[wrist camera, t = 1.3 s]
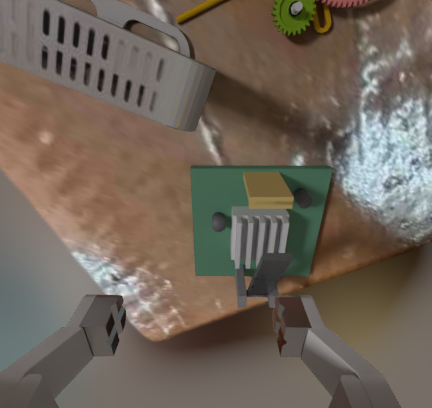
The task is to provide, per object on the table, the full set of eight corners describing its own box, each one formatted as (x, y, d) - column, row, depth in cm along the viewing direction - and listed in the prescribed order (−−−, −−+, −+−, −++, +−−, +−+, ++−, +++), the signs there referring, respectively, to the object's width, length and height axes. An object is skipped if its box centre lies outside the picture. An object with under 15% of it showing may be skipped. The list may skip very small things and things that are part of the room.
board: (329, 165, 37) (361, 193, 29) (306, 271, 46) (325, 314, 38) (191, 165, 37) (183, 192, 29) (196, 271, 46) (191, 314, 38)
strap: (292, 252, 27) (294, 261, 26) (266, 291, 41) (267, 297, 40) (261, 251, 27) (262, 261, 26) (246, 291, 41) (246, 297, 40)
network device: (223, 49, 30) (232, 22, 13) (199, 120, 34) (179, 176, 17) (-9, -57, 26) (-477, -315, 9) (-8, 38, 30) (-329, -5, 12)
